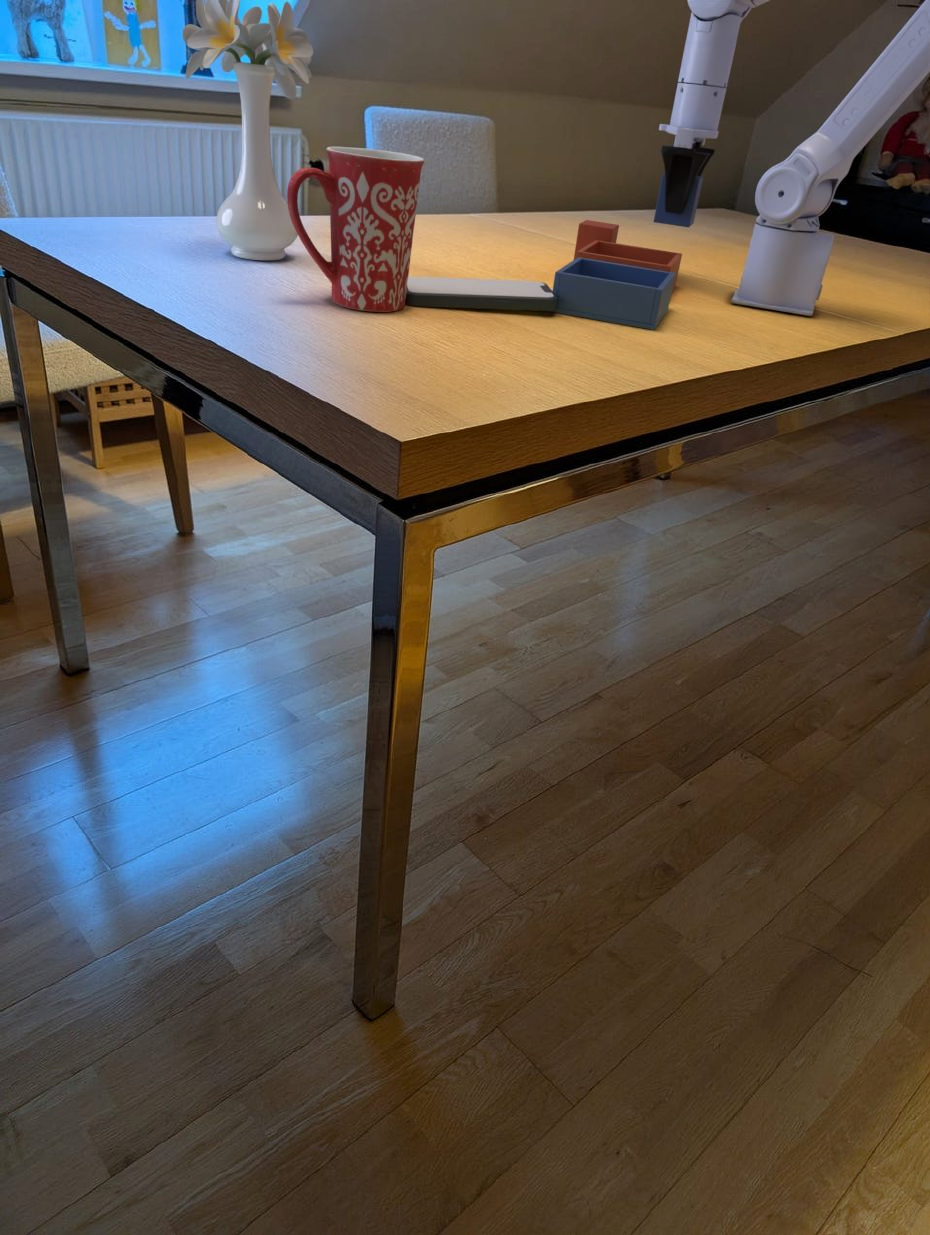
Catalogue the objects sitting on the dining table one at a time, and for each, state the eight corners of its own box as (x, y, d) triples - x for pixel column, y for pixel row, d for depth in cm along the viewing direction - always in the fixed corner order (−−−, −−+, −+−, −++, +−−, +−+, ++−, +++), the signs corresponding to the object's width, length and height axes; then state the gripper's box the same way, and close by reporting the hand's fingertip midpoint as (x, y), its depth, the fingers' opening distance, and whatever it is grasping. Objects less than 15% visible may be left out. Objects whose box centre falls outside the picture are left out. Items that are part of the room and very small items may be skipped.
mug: (400, 293, 93) (408, 150, 86) (425, 315, 86) (436, 161, 79) (280, 290, 89) (278, 140, 82) (296, 313, 82) (296, 150, 75)
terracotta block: (611, 268, 119) (619, 224, 116) (605, 273, 115) (613, 228, 113) (579, 263, 120) (586, 219, 117) (572, 268, 116) (579, 223, 114)
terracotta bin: (675, 286, 112) (682, 253, 110) (663, 302, 103) (671, 266, 101) (589, 272, 115) (595, 239, 113) (571, 286, 106) (576, 251, 104)
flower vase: (317, 245, 112) (319, 8, 99) (306, 275, 96) (307, -2, 83) (212, 236, 110) (200, -7, 97) (183, 264, 95) (165, -20, 82)
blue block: (693, 223, 113) (703, 176, 110) (689, 227, 109) (699, 178, 106) (658, 218, 114) (667, 171, 111) (653, 222, 110) (662, 173, 108)
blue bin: (668, 310, 100) (675, 273, 98) (654, 330, 91) (662, 289, 89) (572, 293, 102) (578, 257, 100) (549, 311, 93) (555, 271, 91)
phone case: (404, 309, 89) (559, 314, 91) (404, 293, 88) (560, 298, 90) (400, 290, 96) (543, 295, 98) (400, 275, 96) (545, 280, 98)
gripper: (676, 83, 111) (653, 201, 118) (659, 80, 99) (635, 211, 106) (733, 89, 109) (706, 209, 116) (722, 87, 97) (693, 220, 104)
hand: (676, 211), depth 111 cm, fingers closed on blue block, 4 cm apart
